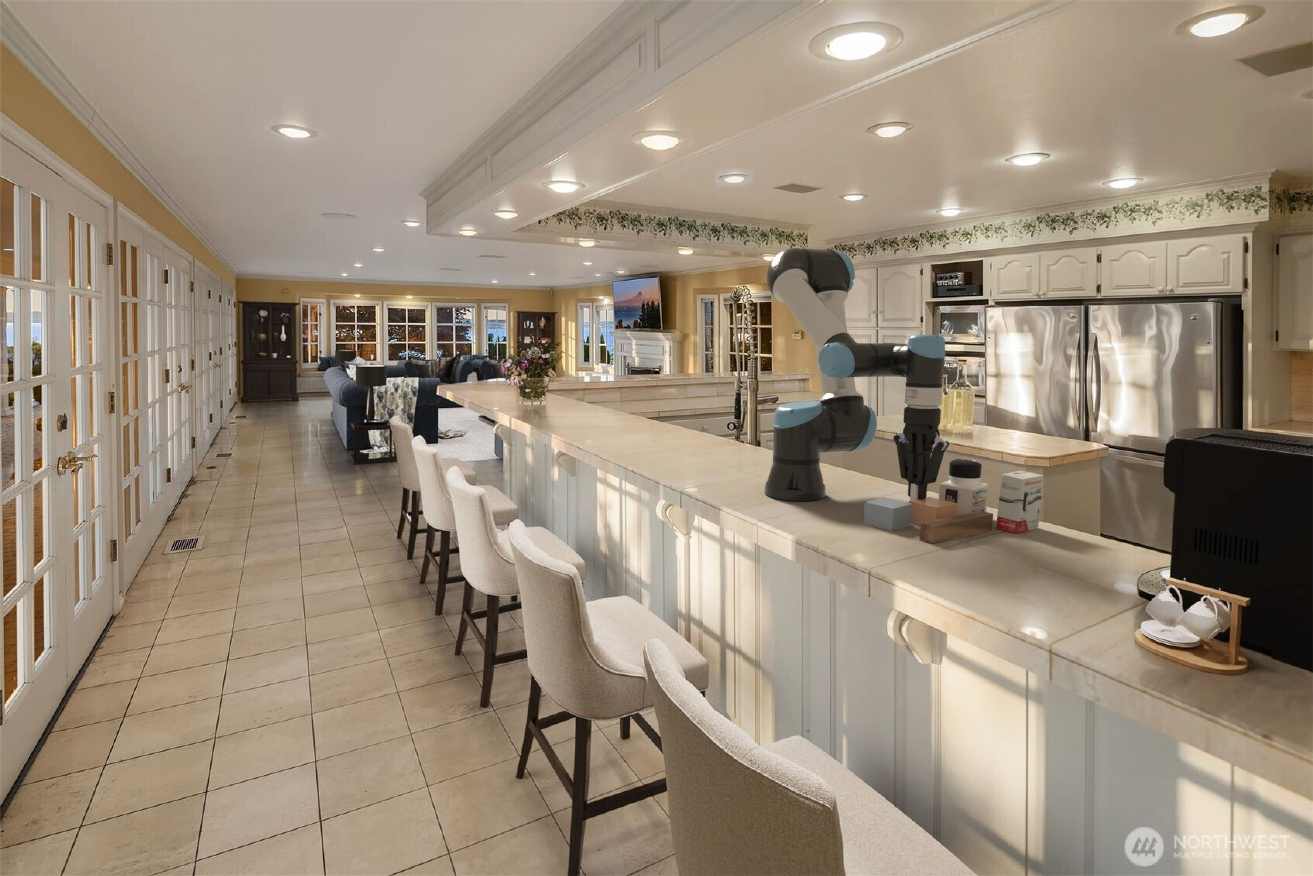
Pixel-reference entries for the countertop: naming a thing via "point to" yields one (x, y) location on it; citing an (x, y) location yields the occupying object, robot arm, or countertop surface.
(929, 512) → the terracotta block
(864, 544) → the countertop surface
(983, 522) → the walnut board
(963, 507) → the container
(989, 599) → the countertop surface
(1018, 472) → the ink box
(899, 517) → the slate block
